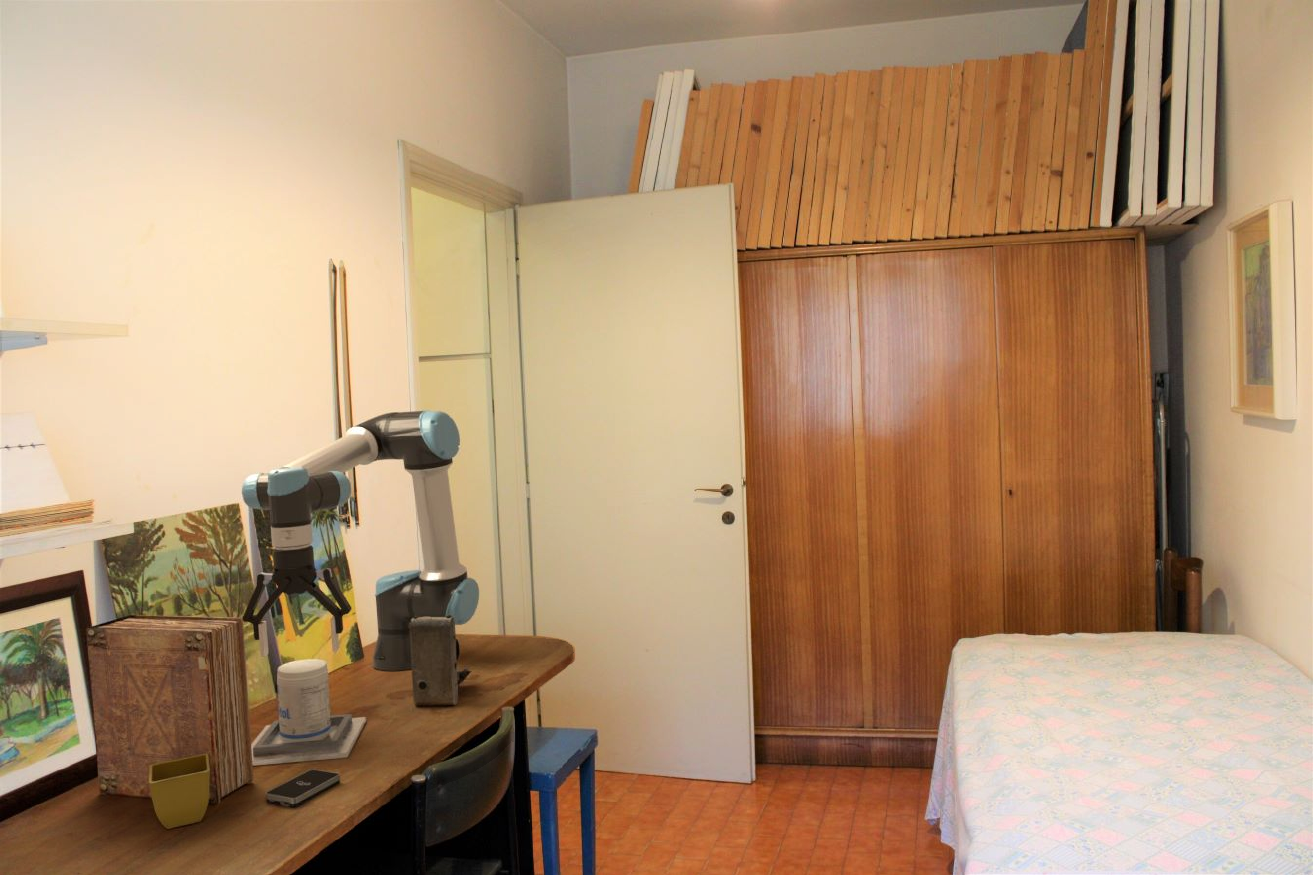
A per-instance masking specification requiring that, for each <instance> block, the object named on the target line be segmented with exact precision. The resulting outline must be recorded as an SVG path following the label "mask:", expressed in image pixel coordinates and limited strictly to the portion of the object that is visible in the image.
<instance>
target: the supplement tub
mask: <svg viewBox="0 0 1313 875" xmlns="http://www.w3.org/2000/svg"><path fill="white" fill-rule="evenodd" d="M276 677H277V678H276V686H277V687H276V688H277V702H278V703H277V705H278V720H279V725H280V739H281V741H282V742H283V743H292V742H304V741H315V740H323V739H325V738H326V737H327V736H328V735H329V734H330V732H331V721H330V716H331V704H330V686H329V684H330V683H329V681H330V680H329V679H330V678H329V669H328V663H327V661H325V660H323V659H320V658H319V659H317V658H310V659H309V658H307V659H299V660H293V661H290V662H285V663H284V664H282V665H279V666H278V667H277V675H276Z"/></svg>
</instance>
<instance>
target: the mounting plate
mask: <svg viewBox="0 0 1313 875" xmlns="http://www.w3.org/2000/svg"><path fill="white" fill-rule="evenodd" d="M366 720H367V719H366V716H362V717H353V715H352V714H351V713H348V714H337V715H330V721H331V732H330V734H329V735H328V736H327V737H326V738H325V739H323V740H315V741H304V742H292V743H283V742H282V741H281V739H280V725H279V719H277V720H276V719H275V720H274V721H273V722H272V723H271V724H267V725H265V726H264V728H263V729H262V730H261V731H260V732H259V734H258V735H257V737H256V738H255V739H254V740H253V741H252V742H251V749H252V764H253V767H256V766H267V765H278V764H280V765H281V764H289V763H300V762H310V761H311V762H312V761H322V760H323V761H325V760H333V759H345V758H349V755H350V754H351V752H352V749H353V748H354V746H355V744H356V741H357V740H358V737H359V736H360V734H361V733H362V729H363V728H364V727H365V726H364V725H365V724H366V722H367V721H366Z"/></svg>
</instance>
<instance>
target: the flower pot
mask: <svg viewBox="0 0 1313 875" xmlns="http://www.w3.org/2000/svg"><path fill="white" fill-rule="evenodd" d="M209 782H210V767H209V758H208V754H202V755H197V756H192V757H188V758H183V759H178V760H173V761H167V762H162V763H157V764H153V765H150V773H149V786H150V791H151V796H152V799H151V800H152V805H153V809H154V812H155V814H156V817H157V819H158V820H159V822H160V823H161V824H162V826H163V827H164V828H166V829H167V830H168V829H169V830H170V829H174V828H178V827H183V826H186V825H191V824H195V823H196V824H197V823H200V822H201V821H202V820H203V819H204V816H205V814H206V811H207V809H208V805H209V804H208V801H209Z"/></svg>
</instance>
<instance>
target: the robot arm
mask: <svg viewBox="0 0 1313 875" xmlns="http://www.w3.org/2000/svg"><path fill="white" fill-rule="evenodd" d="M460 443H461V438H460V431H459V428H458V426H457V424H456V421H455V420H454V418H452V417H451V416H450V415H449V413H447V412H445V411H440V410H439V411H437V410H429V409H428V410H415V411H403V412H401V411H399V412H398V411H396V412H395V411H394V412H387V413H384V414H381V415H380V414H379V415H377V416H375V417H372V418H370V419H367V420H365V421H363V422H360V423H359V424H357V425H354V426H353V427H350V428H349V429H348V430H347V431H346V432H345V433H344V435H343V436H341V437H340V438H338V439H336V440H334V441H332V442H331V443H328V444H326V445H324V446H323V447H320V448H318V449H316V450H314V451H312V452H310V453H308V454H306V455H304V456H301V457H299V458H298V459H296V460H294V461H292V462H289V463H288V464H285V465H284V466H281V467H279V468H275V469H272V470H270V471H269V472H268V473H263V472H260V473H255V474H253V473H252V474H251V475H248V476H247V477H246V479H245V480H244V482H243V484H242V486H241V494H242V499H243V502H244V504H246V506H247V507H248V508H250V509H254V510H262V511H268V510H269V515H270V516H269V517H270V534H271V546H272V547H273V548H274V549H273V550H272V560H273V561H272V562H273V564H272V565H273V573H269V572H268V573H267V572H265V571H262V572H259V574H257V575H256V586H255V588H254V589H253V590H254V591H253V593H252V596H250V597H251V598H250V600H249V601H248V605H247V607H246V609H245V611H244V614H243V616H242V617H241V618H242V619H243V623H250V624H252V626H253V627H252V628H253V639H254V640H255V641H259V649H260V650H259V651H260V654H259V655H260V658H265V657H267V655H269V641H268V627H267V620H264V621H263V619H264V617H266V615H267V613H269V611H270V610H271V609H272V607H273V606H274V604H275V603H276V602H277V601H278V600H279V598H280V597H281V596H282V595H283V594H286V596H287V595H289V596H290V595H293V594H297V595H302V594H304V593H308V594H309V595H310V596H312V597H313V598H315V600H317V602H318V603H319V604H320V605H322V607H323V608H324V609H326V611H327V612H329V613H330V614H331V615H332V617H330V619H329V620H330V622H329V623H330V632H331V633H330V634H331V648H332V652H337V651H338V650H339V649H340V639H339V638H340V637H339V634H342V632H343V631H344V620H343V617H344V616H345V615H348V614H350V612H351V611H352V606H351V604H350V603H349V601H348V599H347V597H346V596H345V595H344V592H342V590H341V588H340V587H339V585H338V583H337V582H336V580H335V578H334V575H333V569H332V568H331V567H330V566H328V567H326V568H324V569H319V570H317V569H316V567H315V566H316V565H315V554H314V547H313V545H311V544H312V543H313V542H314V539H313V528H312V527H313V526H312V514H311V513H313V512H317V511H322V510H327V509H335V508H337V507H339V506H343V505H344V504H346V503H347V502H348V501H349V499H350V497H351V495H352V483H351V481H350V479H349V478H348V476H347V475H346V474H345V473H346V472H348V471H350V470H352V469H354V468H356V467H358V466H360V465H362V466H367V465H370V464H372V463H374V462H377V461H384V460H403V468H404V471H406V472H407V473H409V474H410V475H411V478H412V485H413V491H414V492H413V493H414V500H415V507H416V508H415V509H416V514H417V522H418V529H419V537H420V538H419V539H420V543H421V551H422V552H421V553H422V559H423V566H424V568H423V569H422V570H420V569H411V570H406V571H400V572H396V573H395V572H394V573H390V574H387V575H384V576H381V577H379V578H378V579H377V580H376V582H375V594H374V596H375V605H376V606H375V607H376V617H377V618H376V620H377V639H376V643H375V645H374V651H373V653H372V654H373V655H372V658H371V659H372V667H373V668H374V669H376V670H379V671H389V672H391V671H394V672H395V671H405V670H412V660H411V637H410V632H409V624H410V622H411V619H412V618H414V617H415V616H418V617H441V616H448V615H451V616H452V617H453V618H454V620H455V626H461V625H466V624H467V623H468V622H469V621H470V620H471V619H472V618H473V616H474V615H475V614H476V610H477V608H478V605H479V599H480V589H479V588H480V587H479V584H478V582H477V581H476V579H474V578H472V577H468V571H467V567H466V566H465V565H463V564H461V562H460V557H459V550H458V549H459V548H458V543H457V542H458V541H457V534H456V526H455V518H454V517H455V516H454V510H453V502H452V494H451V488H450V487H451V486H450V480H449V471H448V470H449V469H450V468H451V466H452V465H453V463H454V461H453V458H454V457H456V456H457V455H458V453H459V450H460V447H459V446H460V445H461V444H460ZM317 577H319V578H320V580H322V581H324V583H325V585H326V587H327V589H328V590H329V592H330V593H331V595H332V596H333V598H334V599H335V602H334V601H333V600H332V599H331V598H330V597H329V596H328V595H327V594H326V593H324V591H323V590H322V589H321V588H320V587H319V586H318V584H317V583H315V581H316V579H317ZM271 580H272V582H273V583H274V584H275V585H276V586H277V587H276V589H275V590H274V591H273V592H272V594H271V595H270V597H269V598H268V599H267V600H266V601H265V603H264V604H263V606H262V607H261V609H260V610H258V612H257V614H255V611H256V609H257V607H258V604H259V602H260V599H261V598H262V596H263V593H264V591H265V589H266V585H268V584H269V583H270V582H271ZM336 603H337V604H336Z"/></svg>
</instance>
